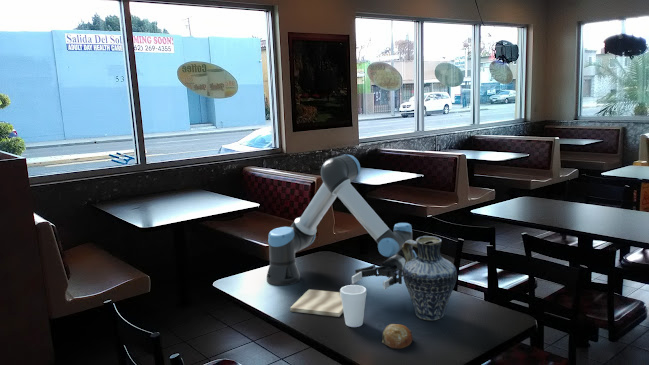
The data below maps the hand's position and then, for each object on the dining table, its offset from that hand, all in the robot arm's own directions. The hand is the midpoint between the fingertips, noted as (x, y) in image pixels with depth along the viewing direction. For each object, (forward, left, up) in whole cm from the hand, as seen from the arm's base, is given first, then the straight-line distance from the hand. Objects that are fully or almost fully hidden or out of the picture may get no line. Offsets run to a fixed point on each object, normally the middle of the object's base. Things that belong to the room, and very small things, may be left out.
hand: (367, 283), depth 199 cm
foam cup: (-3, -9, -13) cm, 16 cm away
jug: (+22, +4, -13) cm, 26 cm away
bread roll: (+15, -19, -13) cm, 27 cm away
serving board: (-20, +5, -12) cm, 24 cm away
